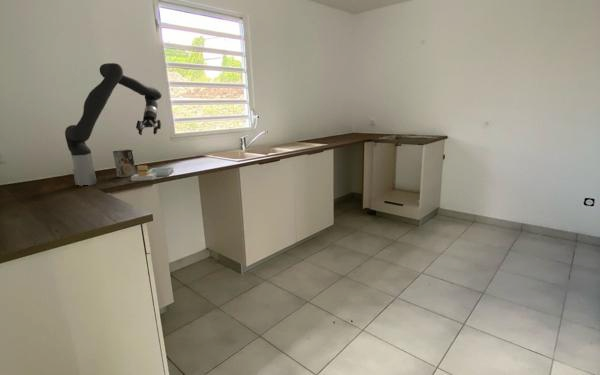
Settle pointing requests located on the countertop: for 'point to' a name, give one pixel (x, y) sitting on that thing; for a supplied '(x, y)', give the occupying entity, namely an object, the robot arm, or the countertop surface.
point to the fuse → (142, 170)
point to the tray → (161, 171)
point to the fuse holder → (143, 177)
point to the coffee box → (124, 163)
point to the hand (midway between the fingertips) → (147, 134)
